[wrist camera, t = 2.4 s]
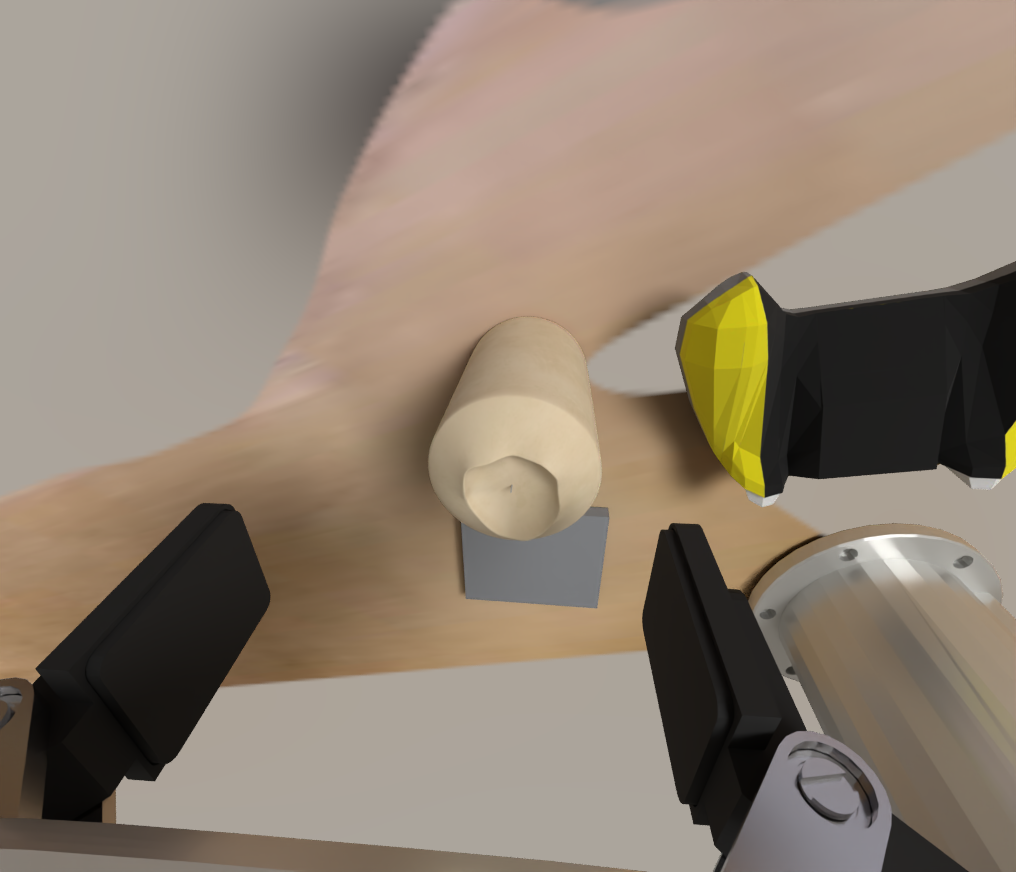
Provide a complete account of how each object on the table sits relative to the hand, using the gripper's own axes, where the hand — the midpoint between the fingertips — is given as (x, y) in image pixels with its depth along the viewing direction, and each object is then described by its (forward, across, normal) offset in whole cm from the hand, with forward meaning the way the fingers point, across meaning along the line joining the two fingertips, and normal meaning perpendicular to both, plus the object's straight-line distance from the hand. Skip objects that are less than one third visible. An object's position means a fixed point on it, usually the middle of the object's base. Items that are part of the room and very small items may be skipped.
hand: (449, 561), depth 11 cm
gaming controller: (+13, -15, 0) cm, 20 cm away
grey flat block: (+13, -2, +12) cm, 18 cm away
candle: (+13, -1, +1) cm, 13 cm away
